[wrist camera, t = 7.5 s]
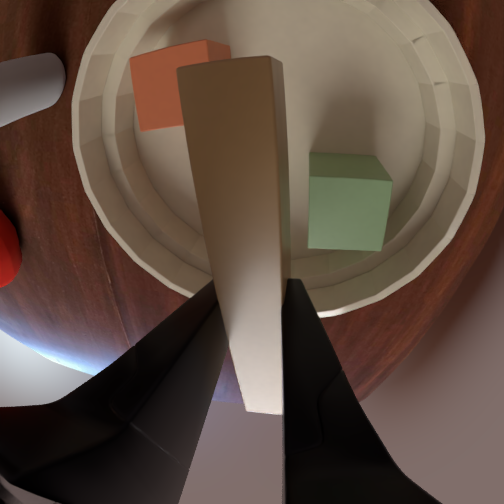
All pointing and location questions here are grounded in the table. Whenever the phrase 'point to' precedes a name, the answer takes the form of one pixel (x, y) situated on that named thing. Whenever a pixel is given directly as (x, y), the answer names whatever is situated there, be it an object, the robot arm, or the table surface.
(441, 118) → the bowl
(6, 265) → the tomato
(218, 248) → the long tan beam
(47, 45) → the table surface
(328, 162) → the sage block
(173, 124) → the terracotta block
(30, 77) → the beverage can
